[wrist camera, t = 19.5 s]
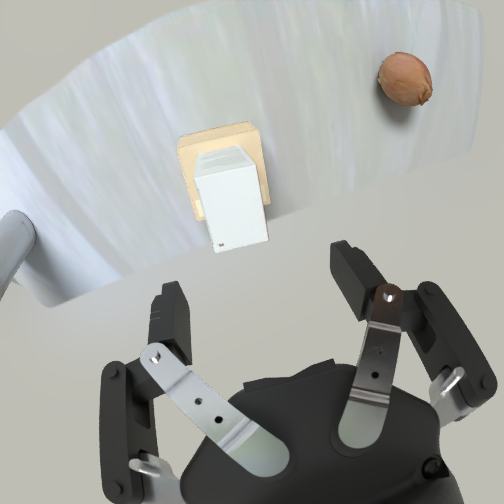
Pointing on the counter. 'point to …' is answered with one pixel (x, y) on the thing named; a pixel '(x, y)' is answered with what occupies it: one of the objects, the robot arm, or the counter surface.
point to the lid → (190, 152)
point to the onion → (405, 79)
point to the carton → (215, 133)
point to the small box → (230, 198)
